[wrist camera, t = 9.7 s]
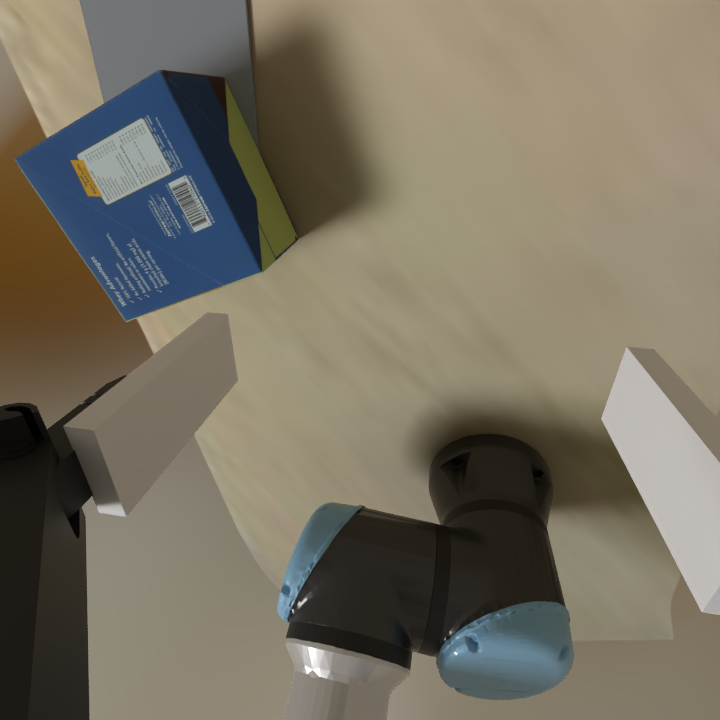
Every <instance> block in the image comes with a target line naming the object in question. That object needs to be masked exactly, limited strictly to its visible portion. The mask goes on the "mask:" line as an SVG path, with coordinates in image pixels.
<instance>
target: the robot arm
mask: <svg viewBox="0 0 720 720" xmlns="http://www.w3.org/2000/svg"><path fill="white" fill-rule="evenodd" d="M237 381H238V378H237V371H236V365H235V358H234V352H233V345H232V339H231V333H230V326H229V320H228V314H220V313H206V314H205V315H204V316H202V317H201V318H200V319H199V320H197V321H196V322H195V323H194V324H192V325H191V326H190V327H189V328H187V329H186V330H185V331H183V332H182V333H181V334H180V335H178V336H177V337H176V338H175V339H173V340H172V341H171V342H169V343H168V344H167V345H166V346H164V347H163V348H162V349H161V350H159V351H158V352H157V353H155V354H154V355H153V356H152V357H151V358H149V359H148V360H147V361H145V362H144V363H143V364H142V365H140V366H139V367H138V368H136V369H135V370H134V371H133V372H131V373H130V374H129V375H128V376H126V375H125V376H122V377H120V378H118V379H116V380H114V381H112V382H110V383H107V384H106V385H105V386H104V387H102V388H101V389H99V390H98V391H97V392H96V393H94V396H90V397H89V398H88V399H86V400H85V401H84V402H83V404H82V405H79V406H77V407H76V408H75V409H73V410H72V411H71V412H69V413H68V414H67V415H65V416H64V417H63V418H62V419H60V420H59V421H58V422H56V423H55V424H54V425H52V426H51V427H50V428H48V429H46V426H45V424H44V422H43V420H42V417H41V415H40V413H39V410H38V408H37V406H35V405H33V404H30V403H15V404H9V405H4V406H1V407H0V720H89V679H88V627H87V626H88V625H87V575H86V524H85V523H86V522H85V515H84V512H83V510H82V508H81V507H82V506H83V505H84V504H85V502H86V501H87V500H88V499H89V498H90V497H91V496H92V497H93V499H94V501H95V504H96V506H97V509H98V511H99V513H105V514H111V515H117V516H123V517H127V515H128V514H129V513H130V512H131V511H132V509H133V508H134V507H135V506H136V504H137V503H138V502H139V500H140V499H141V498H142V497H143V496H144V494H145V493H146V492H147V491H148V490H149V488H150V487H151V486H152V485H153V484H154V482H155V481H156V480H157V479H158V477H159V476H160V475H161V474H162V473H163V471H164V470H165V469H166V468H167V466H168V465H169V464H170V463H171V462H172V460H173V459H174V458H175V457H176V455H177V454H178V453H179V452H180V450H181V449H182V448H183V447H184V445H185V444H186V443H187V442H188V441H189V439H190V438H191V437H192V436H193V435H194V433H195V432H196V431H197V430H198V428H199V427H200V426H201V425H202V424H203V422H204V421H205V420H206V419H207V417H208V416H209V415H210V414H211V413H212V411H213V410H214V409H215V408H216V406H217V405H218V404H219V403H220V401H221V400H222V399H223V398H224V397H225V395H226V394H227V393H228V392H229V390H230V389H231V388H232V387H233V386H234V384H235V383H236V382H237ZM601 420H602V421H603V423H604V425H605V427H606V429H607V431H608V433H609V435H610V437H611V439H612V441H613V443H614V445H615V446H616V448H617V450H618V452H619V454H620V456H621V458H622V460H623V462H624V464H625V466H626V468H627V469H628V471H629V473H630V475H631V477H632V479H633V481H634V483H635V485H636V487H637V489H638V491H639V493H640V494H641V496H642V498H643V500H644V502H645V504H646V506H647V508H648V510H649V512H650V514H651V516H652V517H653V519H654V521H655V523H656V525H657V527H658V529H659V531H660V533H661V535H662V537H663V539H664V540H665V542H666V544H667V546H668V548H669V550H670V552H671V554H672V556H673V558H674V560H675V562H676V564H677V565H678V567H679V569H680V571H681V573H682V575H683V577H684V579H685V581H686V582H687V584H688V587H689V588H690V590H691V592H692V594H693V596H694V598H695V600H696V602H697V604H698V606H699V608H700V610H701V612H704V613H711V614H717V615H720V421H719V420H718V419H717V418H716V417H715V416H714V414H713V413H712V412H711V411H710V410H709V409H708V408H707V407H706V406H705V405H704V404H703V402H702V401H701V400H700V399H699V398H698V397H697V396H696V395H695V394H694V393H693V392H692V390H691V389H690V388H689V387H688V386H687V385H686V384H685V383H684V382H683V381H682V379H681V378H680V377H679V376H678V375H677V374H676V373H675V372H674V371H673V370H672V369H671V367H670V366H669V365H668V364H667V363H666V362H665V361H664V360H663V359H662V358H661V357H660V355H659V354H658V353H657V352H656V351H655V350H654V349H646V348H634V347H626V350H625V353H624V356H623V359H622V361H621V364H620V367H619V370H618V373H617V376H616V378H615V381H614V384H613V387H612V390H611V393H610V395H609V398H608V401H607V404H606V407H605V409H604V412H603V415H602V418H601ZM429 493H430V497H431V500H432V503H433V505H434V508H435V511H436V514H437V516H438V519H439V522H440V524H441V525H439V524H434V523H431V522H426V521H422V520H417V519H412V518H408V517H403V516H399V515H394V514H390V513H385V512H381V511H377V510H372V509H368V508H366V507H365V506H362V505H359V506H353V505H346V504H340V503H326V504H324V505H322V506H321V507H319V508H318V509H317V510H316V511H315V512H314V514H313V515H312V516H311V518H310V519H309V521H308V523H307V524H306V526H305V528H304V530H303V532H302V534H301V536H300V538H299V540H298V543H297V545H296V547H295V550H294V552H293V554H292V557H291V560H290V562H289V565H288V568H287V571H286V574H285V577H284V584H283V586H282V589H281V592H280V595H279V599H278V606H277V611H278V614H279V616H280V617H281V618H283V620H284V621H285V622H290V624H289V628H288V632H287V636H286V640H285V645H286V647H287V649H288V651H289V654H290V656H291V658H292V660H293V663H294V669H295V672H294V676H293V680H292V684H291V688H290V692H289V696H288V700H287V705H286V708H285V713H284V717H283V720H386V719H387V711H388V704H389V696H390V694H391V693H392V691H393V690H394V689H395V687H397V686H398V685H399V684H400V683H401V682H402V681H403V680H405V679H406V678H407V677H408V676H409V675H410V667H411V658H412V652H418V653H421V654H425V655H429V656H433V657H437V659H436V664H437V668H438V669H439V673H440V676H441V678H442V680H443V681H444V682H445V683H446V684H447V685H448V686H449V687H454V688H455V689H456V691H458V692H460V693H462V694H465V695H467V696H472V697H475V698H481V699H490V700H511V699H519V698H526V697H530V696H533V695H537V694H540V693H543V692H545V691H548V690H550V689H552V688H553V687H555V686H557V685H558V684H559V683H560V682H562V681H563V680H564V679H565V677H566V676H567V674H568V673H569V672H570V670H571V667H572V664H573V658H574V653H573V645H572V639H571V632H570V626H569V622H570V617H569V612H568V610H567V609H566V606H565V602H564V598H563V594H562V590H561V585H560V581H559V577H558V573H557V569H556V565H555V560H554V556H553V552H552V548H551V544H550V540H549V536H548V531H547V524H548V519H549V513H550V507H551V502H552V496H553V486H552V481H551V477H550V473H549V469H548V467H547V464H546V463H545V461H544V459H543V458H542V457H541V456H540V455H539V454H538V453H537V452H536V451H535V450H534V449H533V448H531V447H530V446H528V445H526V444H525V443H523V442H520V441H518V440H515V439H513V438H509V437H505V436H499V435H476V436H470V437H466V438H463V439H460V440H457V441H455V442H453V443H451V444H449V445H448V446H446V447H445V448H444V449H442V450H441V451H440V452H439V453H438V454H437V456H436V457H435V458H434V460H433V462H432V464H431V467H430V472H429Z"/></svg>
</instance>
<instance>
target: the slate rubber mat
mask: <svg viewBox="0 0 720 720" xmlns="http://www.w3.org/2000/svg"><path fill="white" fill-rule="evenodd" d="M80 4H81V8H82V12H83V16H84V21H85V25H86V29H87V33H88V37H89V42H90V46H91V50H92V54H93V58H94V63H95V67H96V71H97V75H98V79H99V84H100V88H101V92H102V96H103V101H104V103H106V102H107V101H109V100H111V99H112V98H114V97H116V96H117V95H119V94H121V93H122V92H124V91H125V90H127V89H128V88H130V87H132V86H133V85H135V84H137V83H138V82H140V81H141V80H143V79H145V78H146V77H148V76H149V75H151V74H153V73H154V72H156V71H158V70H168V71H176V72H186V73H196V74H203V75H212V76H220V77H224V78H225V80H226V82H227V84H228V86H229V88H230V91H231V93H232V95H233V97H234V99H235V101H236V103H237V106H238V108H239V110H240V112H241V114H242V116H243V119H244V121H245V123H246V125H247V127H248V130H249V132H250V134H251V136H252V138H253V140H254V143H255V145H256V147H257V149H258V151H259V140H258V127H257V115H256V102H255V90H254V77H253V65H252V52H251V40H250V27H249V15H248V2H247V0H80ZM259 153H260V152H259Z"/></svg>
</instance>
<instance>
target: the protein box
mask: <svg viewBox="0 0 720 720" xmlns="http://www.w3.org/2000/svg"><path fill="white" fill-rule="evenodd" d="M15 160H16V162H17V164H18V165H19V167H20V169H21V170H22V172H23V173H24V175H25V176H26V178H27V179H28V181H29V182H30V183H31V185H32V187H33V188H34V189H35V191H36V192H37V194H38V195H39V197H40V198H41V199H42V201H43V202H44V204H45V205H46V207H47V208H48V209H49V211H50V212H51V214H52V215H53V217H54V218H55V219H56V221H57V223H58V224H59V226H60V227H61V229H62V230H63V232H64V233H65V234H66V236H67V237H68V239H69V240H70V242H71V243H72V245H73V246H74V248H75V249H76V251H77V252H78V253H79V255H80V256H81V258H82V259H83V261H84V262H85V263H86V265H87V266H88V268H89V269H90V270H91V272H92V273H93V275H94V276H95V278H96V279H97V280H98V282H99V283H100V284H101V286H102V287H103V289H104V290H105V292H106V293H107V295H108V296H109V298H110V299H111V301H112V302H113V304H114V305H115V307H116V308H117V310H118V311H119V313H120V314H121V316H122V317H123V318H124V320H125V321H126V322H129V321H131V320H133V319H136V318H138V317H141V316H144V315H147V314H149V313H152V312H155V311H157V310H160V309H163V308H166V307H169V306H171V305H174V304H177V303H180V302H182V301H185V300H188V299H191V298H193V297H196V296H199V295H202V294H205V293H208V292H210V291H213V290H216V289H219V288H222V287H224V286H226V285H230V284H233V283H236V282H238V281H241V280H244V279H247V278H250V277H252V276H255V275H258V274H261V273H263V272H264V271H265V270H266V269H267V268H268V267H269V266H270V265H271V264H272V263H274V262H275V261H276V260H277V259H278V258H279V257H280V256H281V255H282V254H283V253H284V252H286V251H287V249H289V248H290V247H291V246H292V245H293V244H294V243H295V242H296V241H297V240H298V236H297V234H296V232H295V230H294V228H293V226H292V224H291V221H290V219H289V217H288V215H287V213H286V210H285V208H284V206H283V204H282V202H281V199H280V197H279V195H278V193H277V190H276V188H275V186H274V184H273V182H272V180H271V178H270V175H269V173H268V171H267V169H266V167H265V164H264V162H263V160H262V158H261V156H260V153H259V151H258V149H257V147H256V145H255V143H254V140H253V138H252V136H251V134H250V132H249V130H248V127H247V125H246V123H245V121H244V119H243V116H242V114H241V112H240V110H239V108H238V106H237V103H236V101H235V99H234V97H233V95H232V93H231V91H230V88H229V86H228V84H227V82H226V80H225V78H224V77H220V76H212V75H203V74H196V73H186V72H176V71H168V70H158V71H156V72H154V73H153V74H151V75H149V76H148V77H146V78H145V79H143V80H141V81H140V82H138V83H137V84H135V85H133V86H132V87H130V88H128V89H127V90H125V91H124V92H122V93H121V94H119V95H117V96H116V97H114V98H112V99H111V100H109V101H107V102H106V103H104V104H103V105H101V106H99V107H98V108H96V109H95V110H93V111H91V112H90V113H88V114H86V115H85V116H83V117H81V118H80V119H78V120H76V121H75V122H73V123H72V124H70V125H68V126H67V127H65V128H63V129H62V130H60V131H58V132H57V133H55V134H54V135H52V136H50V137H49V138H47V139H45V140H44V141H42V142H40V143H39V144H37V145H36V146H34V147H32V148H31V149H29V150H28V151H26V152H24V153H23V154H21V155H19V156H18V157H16V158H15Z"/></svg>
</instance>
